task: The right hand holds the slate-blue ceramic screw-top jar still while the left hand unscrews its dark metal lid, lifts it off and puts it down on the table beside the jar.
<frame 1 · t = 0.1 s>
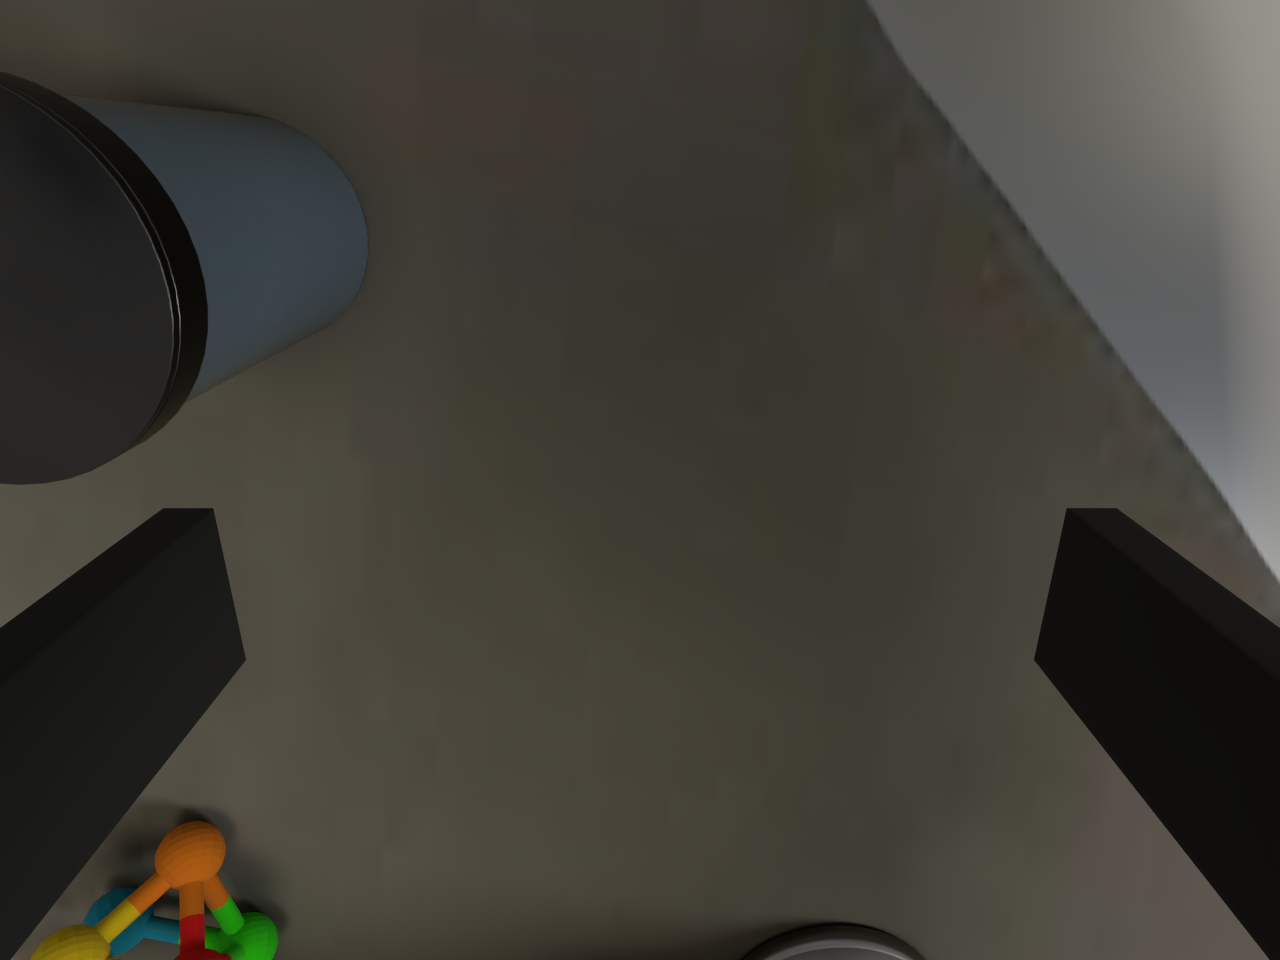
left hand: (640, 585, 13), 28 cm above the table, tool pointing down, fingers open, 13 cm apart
screw-top jar: (259, 232, 37), on the table
molecular model: (194, 890, 53), on the table
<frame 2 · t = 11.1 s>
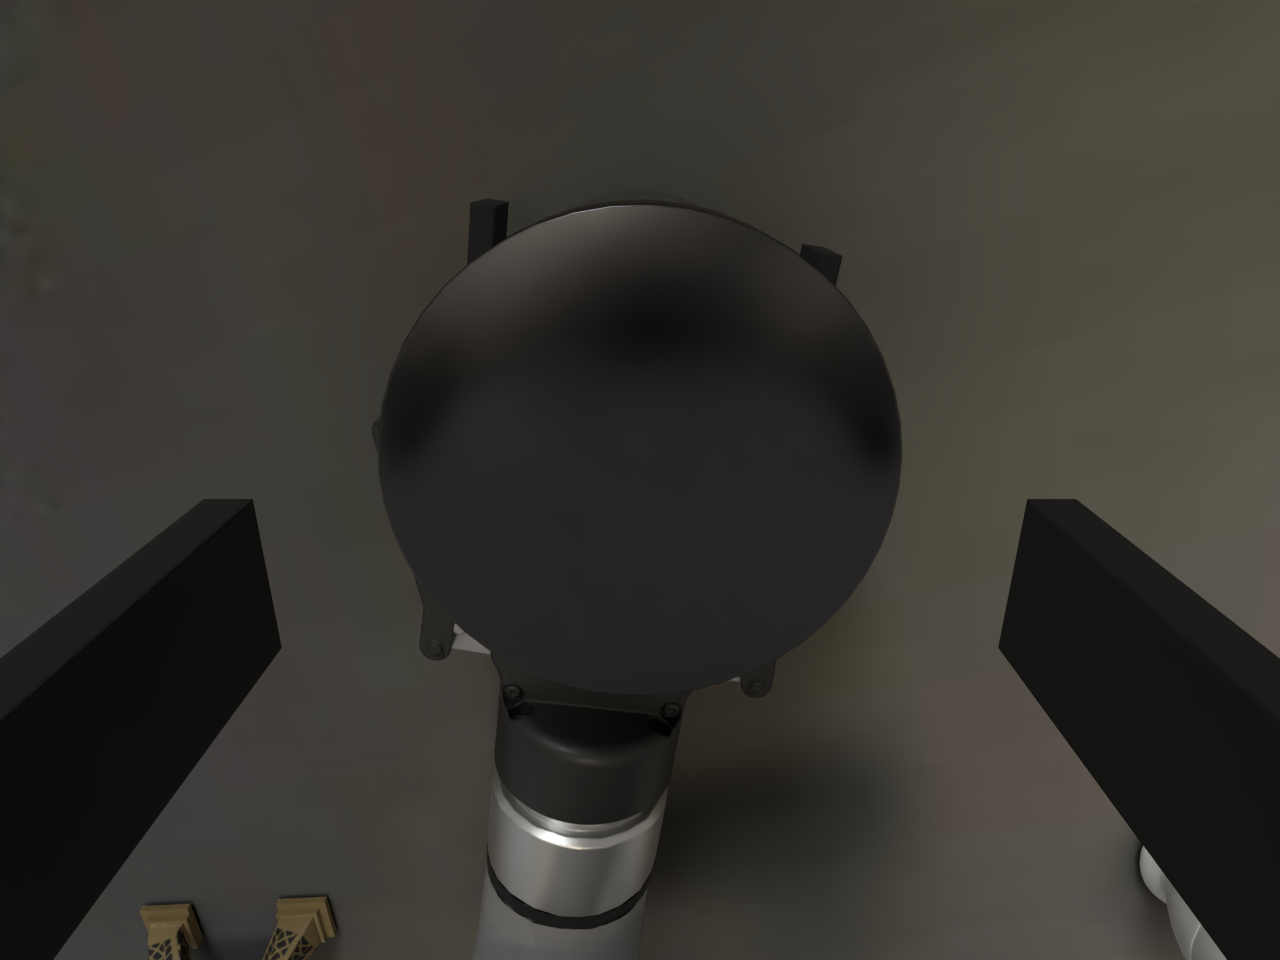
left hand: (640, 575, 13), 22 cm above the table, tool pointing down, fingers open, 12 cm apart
screw-top jar: (640, 320, 33), on the table, touching right hand
lid: (639, 473, 17), point 17 cm above the table, screwed on, not yet turned
jar: (1211, 841, 44), on the table
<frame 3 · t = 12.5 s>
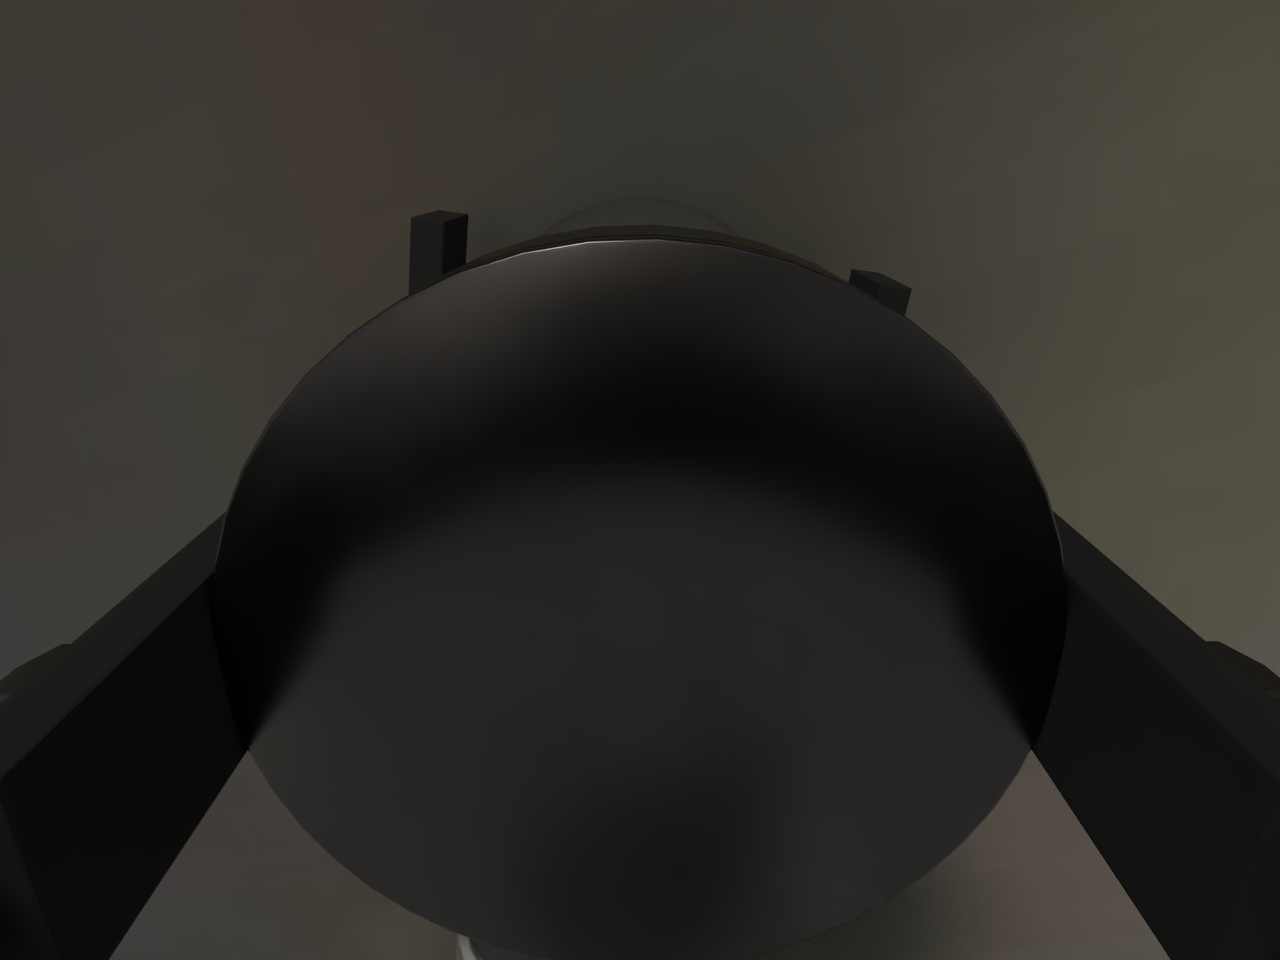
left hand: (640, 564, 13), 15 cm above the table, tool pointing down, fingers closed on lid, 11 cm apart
screw-top jar: (640, 357, 27), on the table, touching right hand
lid: (639, 659, 11), point 17 cm above the table, screwed on, not yet turned, touching left hand
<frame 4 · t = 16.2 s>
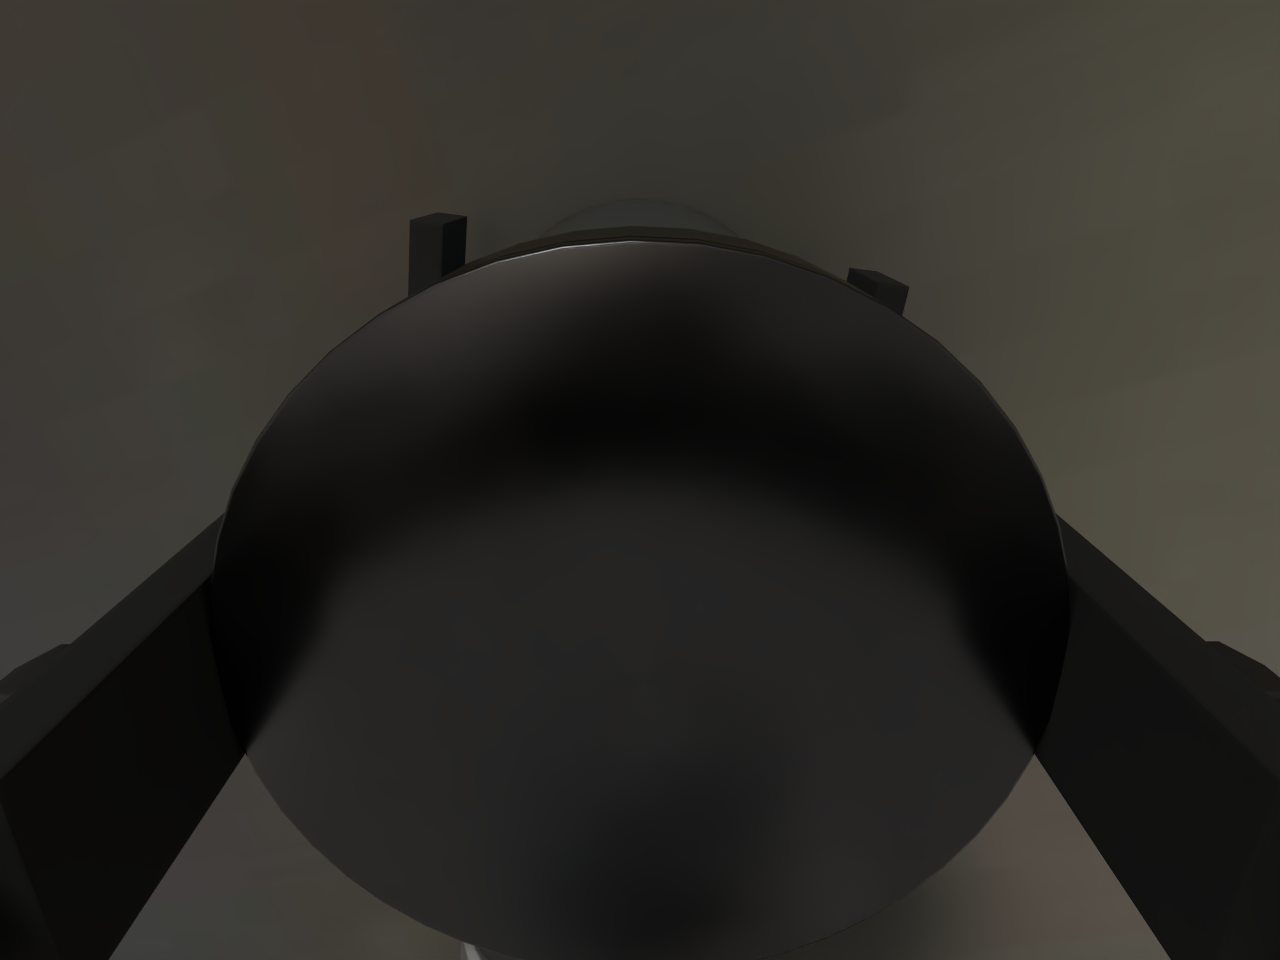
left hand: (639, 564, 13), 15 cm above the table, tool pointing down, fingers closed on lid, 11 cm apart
screw-top jar: (639, 357, 27), on the table, touching right hand
lid: (639, 664, 11), point 18 cm above the table, turned 122° so far, risen 0.1 cm, still on its thread, touching left hand
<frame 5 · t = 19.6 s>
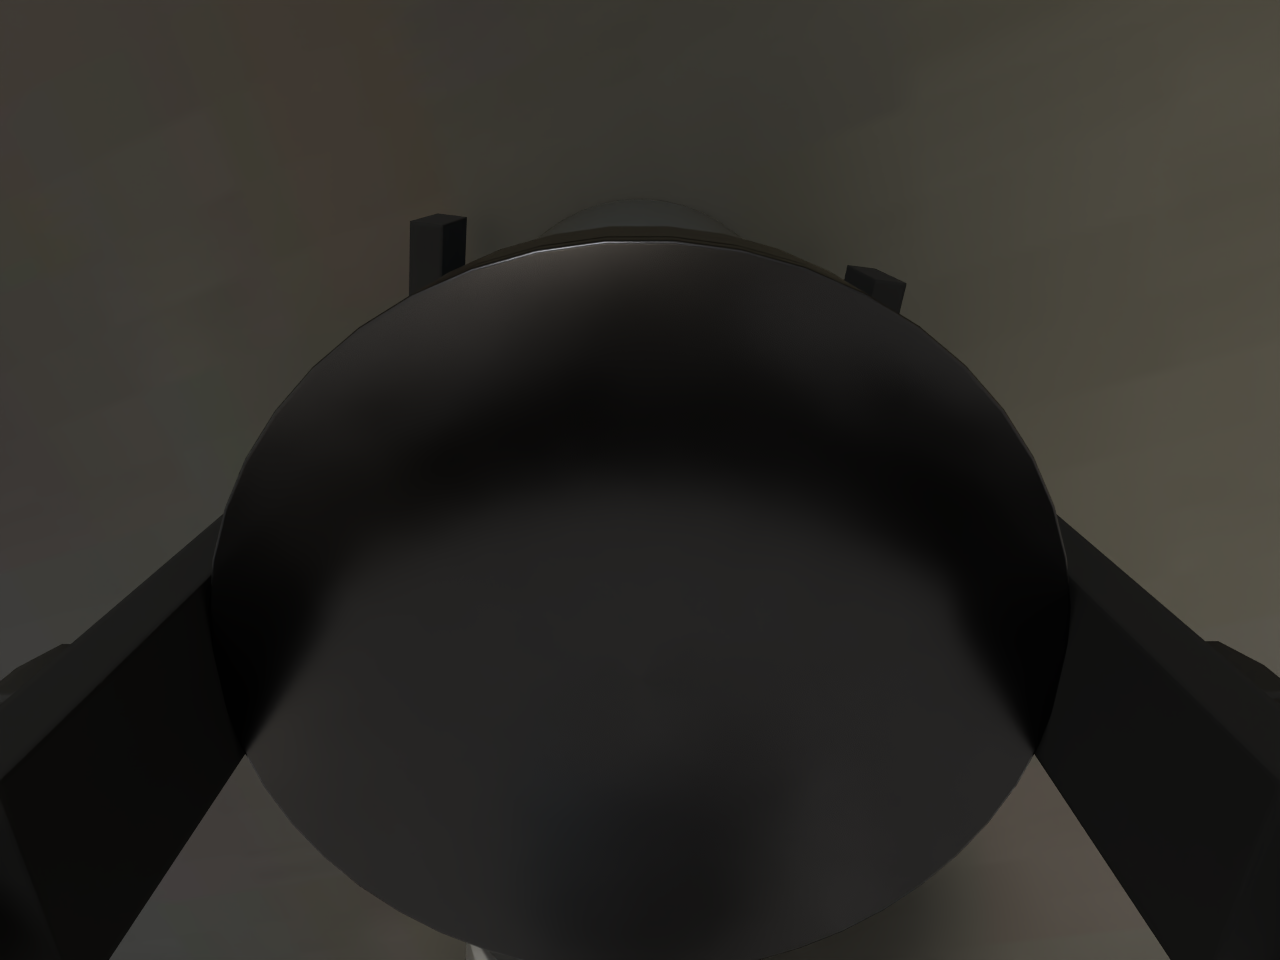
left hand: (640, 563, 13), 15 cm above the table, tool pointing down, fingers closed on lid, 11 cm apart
screw-top jar: (639, 356, 27), on the table, touching right hand
lid: (640, 663, 11), point 18 cm above the table, turned 245° so far, risen 0.3 cm, still on its thread, touching left hand
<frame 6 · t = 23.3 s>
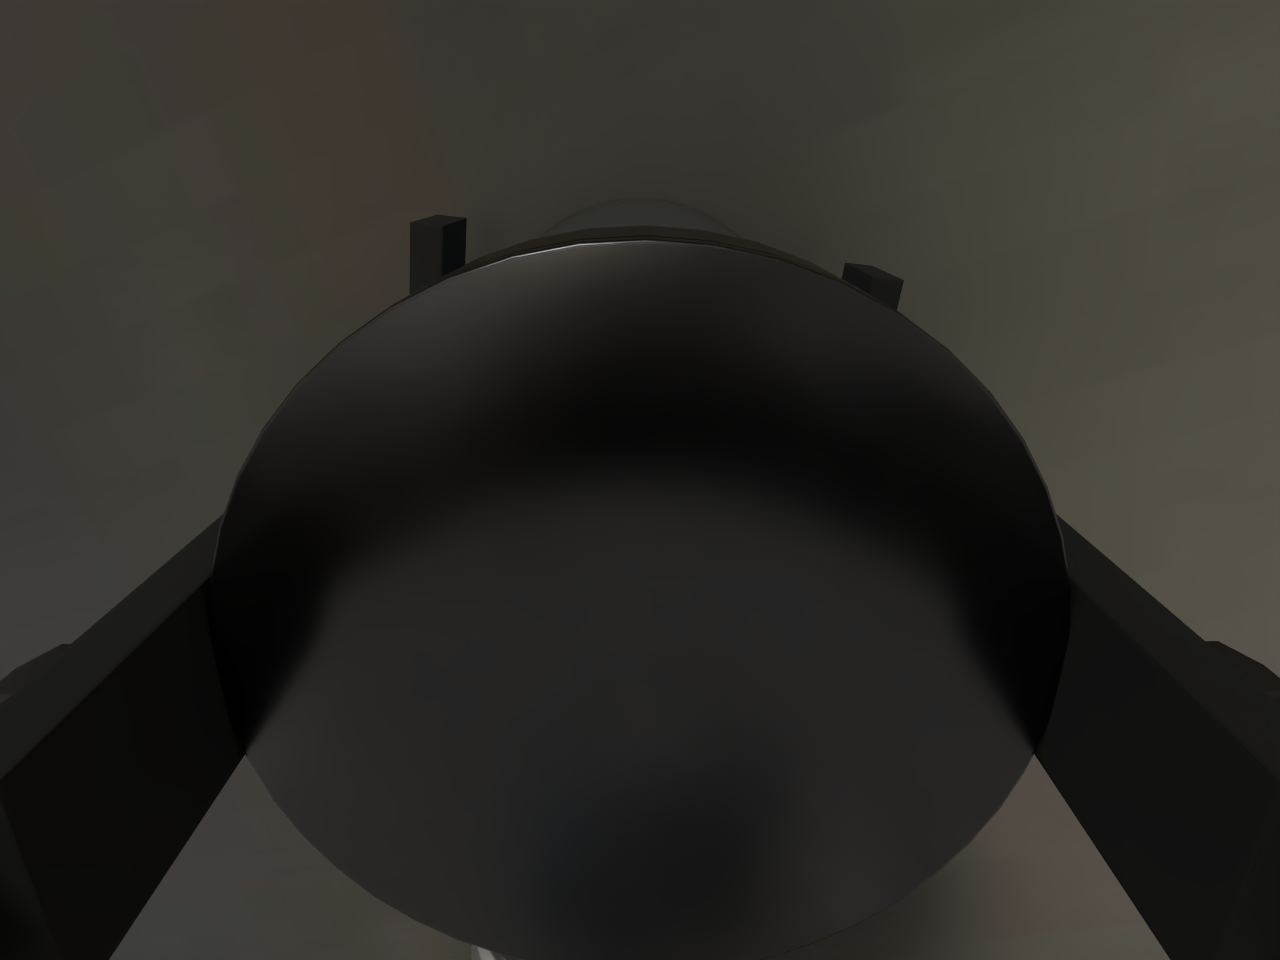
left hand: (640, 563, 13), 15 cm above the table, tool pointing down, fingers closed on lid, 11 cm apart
screw-top jar: (639, 355, 27), on the table, touching right hand
lid: (640, 663, 11), point 18 cm above the table, turned 367° so far, risen 0.4 cm, still on its thread, touching left hand
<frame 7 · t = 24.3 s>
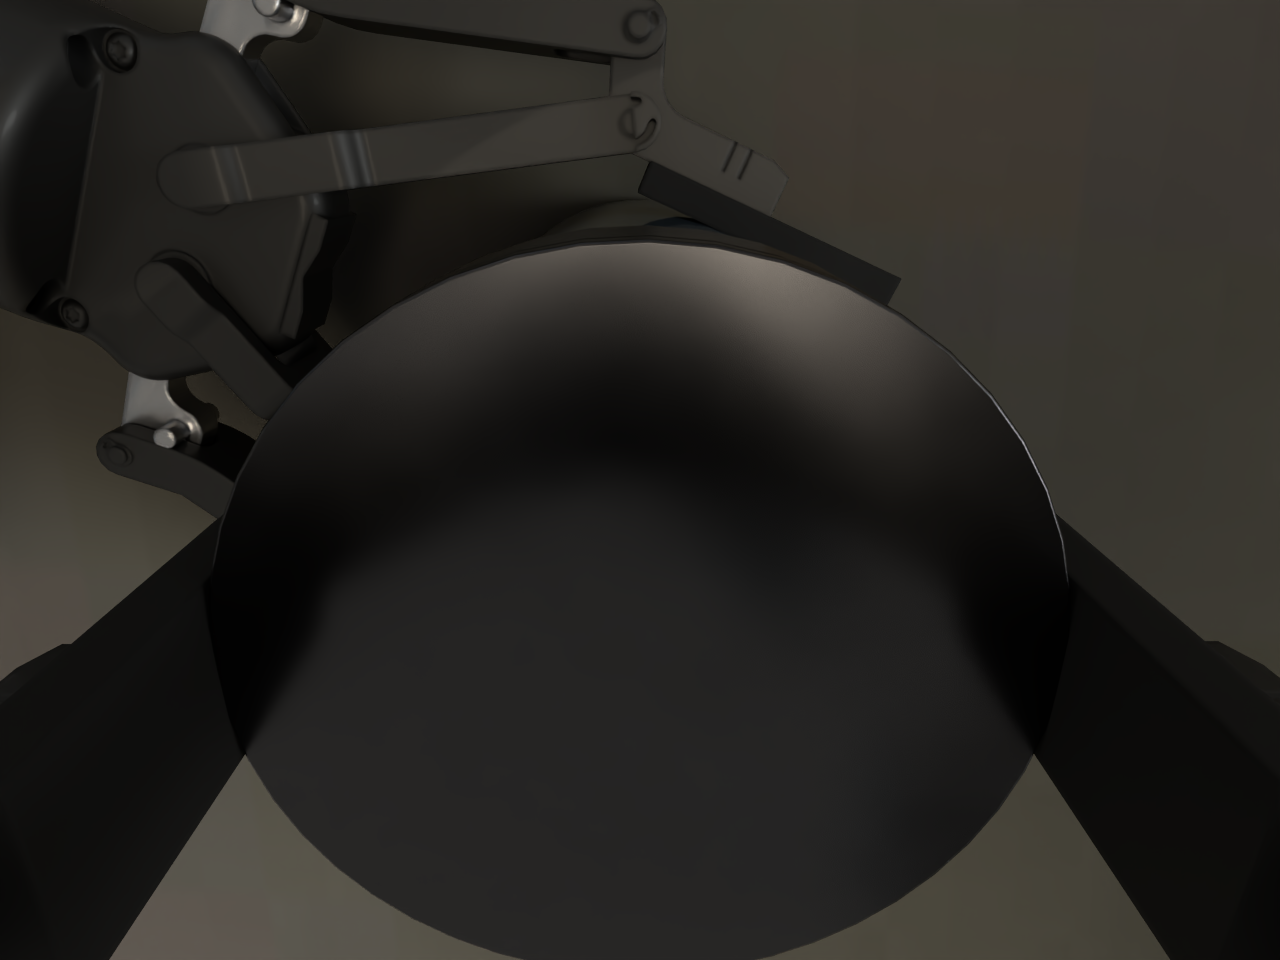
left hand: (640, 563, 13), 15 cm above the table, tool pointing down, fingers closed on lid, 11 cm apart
screw-top jar: (640, 355, 27), on the table, touching right hand
lid: (639, 663, 11), point 18 cm above the table, off its thread, touching left hand
when the left hand's fingers open (0 cm above the table, at t = 30.8 s): lid drops 2 cm, point 2 cm above the table.
when the right hand's fingers open (6 cm above the table, at t = 31.8 s): screw-top jar stays where it is, on the table.
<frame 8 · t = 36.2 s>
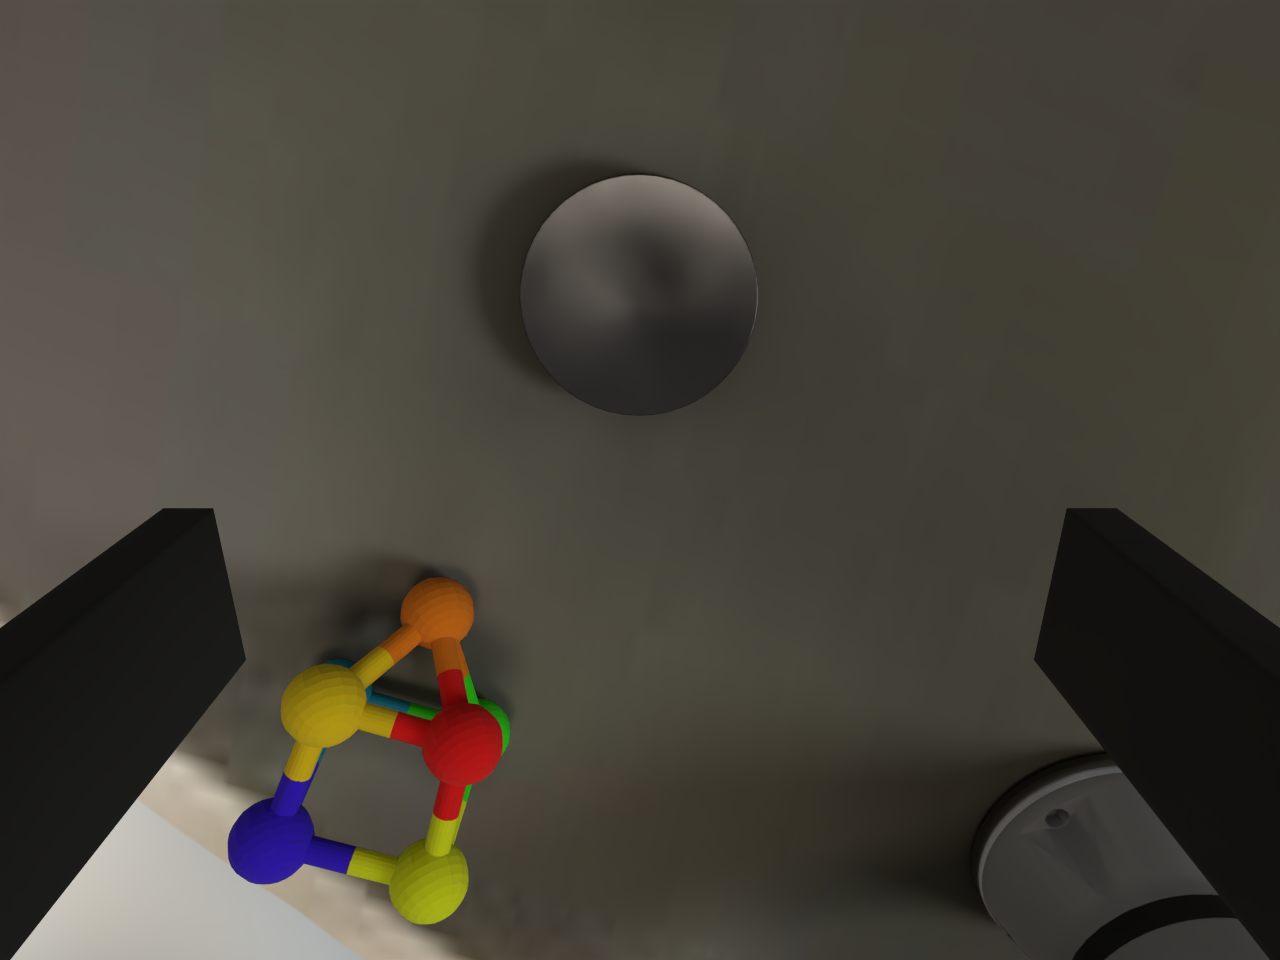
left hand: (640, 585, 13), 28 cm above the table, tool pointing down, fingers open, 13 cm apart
molecular model: (414, 671, 47), on the table
lid: (638, 300, 37), point 2 cm above the table, off its thread
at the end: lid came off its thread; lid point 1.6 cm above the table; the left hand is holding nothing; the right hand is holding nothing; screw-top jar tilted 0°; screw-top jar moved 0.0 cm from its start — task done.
